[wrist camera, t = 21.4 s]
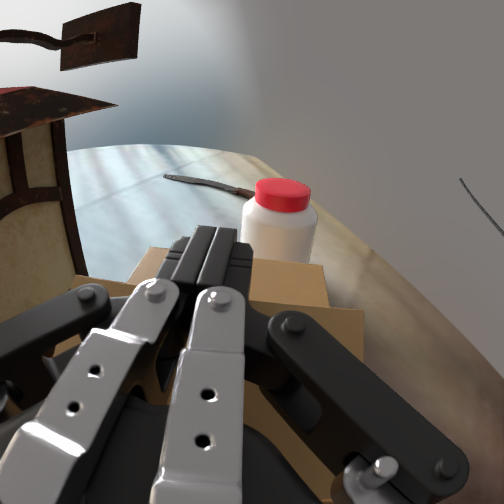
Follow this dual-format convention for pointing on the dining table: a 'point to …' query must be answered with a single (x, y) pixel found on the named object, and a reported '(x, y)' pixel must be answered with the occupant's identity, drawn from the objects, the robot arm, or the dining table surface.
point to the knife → (234, 190)
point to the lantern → (49, 161)
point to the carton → (260, 282)
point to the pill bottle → (279, 221)
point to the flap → (255, 404)
